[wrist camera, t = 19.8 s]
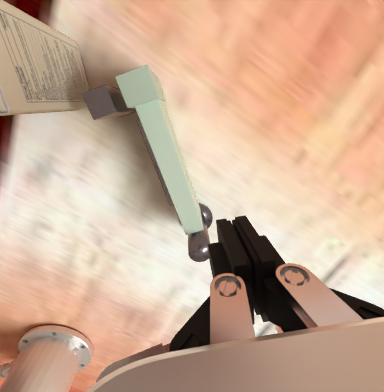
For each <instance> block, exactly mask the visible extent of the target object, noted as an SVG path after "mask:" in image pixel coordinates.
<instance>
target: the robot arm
mask: <svg viewBox="0 0 384 392" xmlns="http://www.w3.org/2000/svg"><path fill="white" fill-rule="evenodd" d="M216 224H217V233H218V243H212V244H208V252H209V259H210V265H211V270H212V275H213V280H212V282H211V285H210V296H209V297H208V299H207V300H206V301H205V302H204V303H203V304H202V305H201V307H200V308H199V309H198V310H197V311H196V312H195V313H194V315H193V316H192V317H191V318H190V319H189V320H188V321H187V323H186V324H185V325H184V326H183V327H182V328H181V329H180V331H179V332H178V333H177V334H176V335H175V336H174V338H173V340H172V341H171V343H169V344H167V345H164V346H163V345H162V343H161V344H159V345H156V346H154V347H151V348H149V349H146V350H144V351H141V352H139V353H137V354H134V355H132V356H129V357H127V358H124V359H122V360H119V361H117V362H115V363H113V364H111V365H109V366H108V367H106V369H105V370H104V371H103V372H102V373H101V374H100V376H99V377H98V379H97V381H96V383H95V384H93V385H92V386H91V387H90V388H88V389H87V390H86V391H85V392H384V310H383V309H382V308H380V307H378V306H376V305H374V304H371V303H369V302H366V301H363V300H360V299H358V298H355V297H352V296H350V295H347V294H344V293H342V292H339V291H336V290H334V289H331V288H328V287H327V286H326V285H325V284H324V283H323V282H321V281H320V280H319V279H318V278H317V277H316V276H315V275H314V274H313V273H312V272H310V271H309V270H308V269H306V268H305V267H303V266H301V265H297V264H290V263H288V264H286V263H285V262H284V261H283V259H282V258H281V257H280V255H279V254H278V252H277V251H276V250H275V248H274V247H273V246H272V244H271V243H270V241H269V240H268V239H267V237H266V236H264V235H263V236H259V235H258V233H257V232H256V231H255V229H254V228H253V226H252V225H251V223H250V222H249V220H248V219H247V217H246V216H239V217H235V220H232V224H231V222H230V221H227V220H226V219H220V220H216ZM254 310H255V312H256V314H257V315H261V317H262V320H263V322H267V321H270V322H272V323H273V324H275V326H276V330H277V332H278V334H272V335H265V336H259V337H255V333H254V328H253V325H254ZM18 352H19V355H18V357H17V358H16V359H15V360H13V361H12V362H11V363H7V364H3V365H0V378H4V377H6V376H7V378H6V379H5V381H4V382H3V384H2V385H1V387H0V392H69V390H70V387H71V385H72V382H73V380H74V377H75V375H76V372H77V371H79V370H82V369H83V368H85V367H86V366H87V365H88V364H89V363H90V360H91V358H92V355H93V347H92V345H91V343H90V341H89V340H88V339H87V338H86V337H85V336H84V335H82V334H81V333H79V332H77V331H75V330H73V329H70V328H67V327H63V326H56V325H45V326H39V327H36V328H33V329H31V330H29V331H28V332H26V333H25V334H24V335H23V337H22V338H21V340H20V341H19V344H18Z"/></svg>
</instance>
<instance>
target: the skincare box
mask: <svg viewBox="0 0 384 392" xmlns="http://www.w3.org/2000/svg"><path fill="white" fill-rule="evenodd" d="M87 91H90V89H89V85H88V82H87V78H86V74H85V70H84V67H83V63H82V60H81V56H80V53H79V50H78V46H77V43H76V42H75V41H74V40H72V39H70V38H69V37H67V36H65V35H63V34H61V33H60V32H58V31H56V30H54V29H53V28H51V27H49V26H47V25H46V24H44V23H42V22H40V21H38V20H37V19H35V18H33V17H31V16H29V15H28V14H26V13H24V12H23V11H21V10H19V9H17V8H15V7H14V6H12V5H10V4H8V3H7V2H5V1H3V0H0V116H3V115H16V114H31V113H46V112H60V111H73V110H85V109H88V107H87V105H86V102H85V100H84V98H83V96H82V93H84V92H87Z"/></svg>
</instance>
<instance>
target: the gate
mask: <svg viewBox="0 0 384 392" xmlns="http://www.w3.org/2000/svg"><path fill="white" fill-rule="evenodd" d="M115 78H116V81H117V83H118V86H119V88H120V90H121V93H122V95H123V98H124V100H125V103H126V105H127V107H128V108H136V111H137V113H138V116H139V118H140V121H141V123H142V126H143V128H144V131H145V133H146V136H147V138H148V141H149V143H150V146H151V148H152V151H153V153H154V156H155V158H156V161H157V163H158V166H159V169H160V171H161V174H162V176H163V179H164V181H165V184H166V186H167V189H168V191H169V194H170V196H171V199H172V201H173V204H174V206H175V209H176V211H177V214H178V216H179V219H180V221H181V224H182V226H183V229H184V231H185V234H186V235H188V234H191V233H195V232H198V231H201V230H204V229H203V223H202V217H201V210H200V207H199V204H198V201H197V198H196V195H195V192H194V189H193V186H192V183H191V181H190V178H189V175H188V172H187V169H186V166H185V163H184V160H183V157H182V154H181V151H180V149H179V146H178V143H177V140H176V137H175V134H174V131H173V128H172V125H171V122H170V120H169V117H168V114H167V111H166V108H165V105H164V102H163V101H165V97H164V94H163V91H162V88H161V85H160V82H159V79H158V77H157V76H156V75H155V74H154V73H153V71H152V70H151V69H150V68H149V67H148V66H147V65H144V66H142V67H139V68H136V69H134V70H131V71H129V72H126V73H123V74H121V75H118V76H115Z"/></svg>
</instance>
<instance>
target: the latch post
mask: <svg viewBox="0 0 384 392" xmlns="http://www.w3.org/2000/svg"><path fill="white" fill-rule="evenodd" d="M82 96H83V98H84V100H85V102H86V105H87V107H88V109H89V111H90V113H91V115H92V117H93V119H94V120H98V119H106V118H114V117H120V116H123V115H126V114H129V113H132V112H135V111H136V110H135V108H128V107H127V105H126V103H125V100H124V98H123V95H122V93H121V90H120V89H117V88H114V87H110V86H107V85H104V86H101V87H98V88H95V89H93V90H90V91H87V92H84V93H82ZM137 123H138V126H139V128H140V131H141V133H142V136H143V138H144V141H145V143H146V146H147V148H148V151H149V154H150V156H151V159H152V161H153V164H154V166H155V169H156V171H157V174H158V176H159V179H160V181H161V184H162V187H163V189H164V192H165V194H166V197H167V199H168V202H169V204H170V206H172V205H174V204H173V201H172V199H171V196H170V194H169V191H168V189H167V186H166V184H165V181H164V179H163V176H162V174H161V171H160V169H159V166H158V163H157V161H156V158H155V156H154V153H153V151H152V148H151V146H150V143H149V141H148V138H147V136H146V133H145V131H144V128H143V126H142V123H141V121H140V120H139V121H137Z"/></svg>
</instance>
